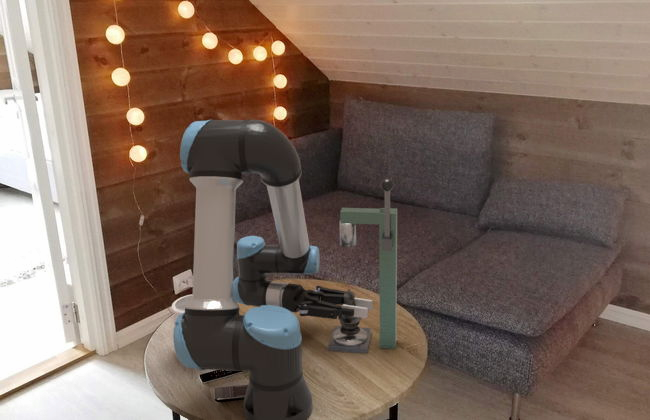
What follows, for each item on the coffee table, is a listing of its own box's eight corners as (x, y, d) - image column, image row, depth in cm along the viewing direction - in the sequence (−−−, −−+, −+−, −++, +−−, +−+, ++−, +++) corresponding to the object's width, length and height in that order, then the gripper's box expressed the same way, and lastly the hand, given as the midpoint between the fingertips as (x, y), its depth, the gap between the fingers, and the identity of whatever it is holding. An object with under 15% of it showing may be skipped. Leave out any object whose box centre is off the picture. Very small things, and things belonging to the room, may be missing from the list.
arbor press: (394, 355, 145) (395, 181, 130) (328, 350, 148) (322, 179, 133) (397, 334, 155) (398, 169, 140) (334, 330, 158) (329, 168, 143)
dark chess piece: (357, 322, 154) (357, 282, 150) (363, 334, 149) (363, 292, 145) (336, 325, 153) (335, 285, 149) (341, 337, 148) (340, 295, 144)
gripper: (298, 295, 163) (378, 307, 155) (273, 324, 149) (360, 338, 141) (297, 271, 161) (378, 282, 153) (272, 298, 146) (360, 311, 138)
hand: (369, 309), depth 147 cm, fingers closed on dark chess piece, 3 cm apart
